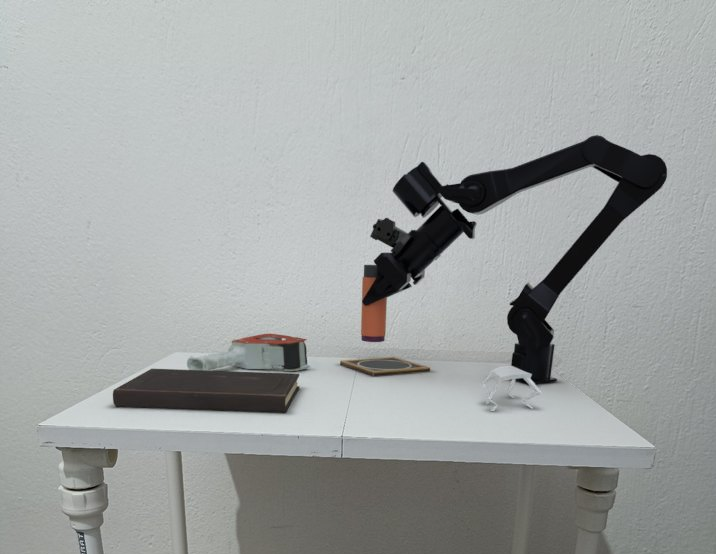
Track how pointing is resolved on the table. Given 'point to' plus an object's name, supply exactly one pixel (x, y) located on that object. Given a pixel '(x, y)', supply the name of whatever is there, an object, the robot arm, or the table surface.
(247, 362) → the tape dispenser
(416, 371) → the square coaster
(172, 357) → the table surface
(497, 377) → the white legged figure
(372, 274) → the dot marker
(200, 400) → the hardcover book
